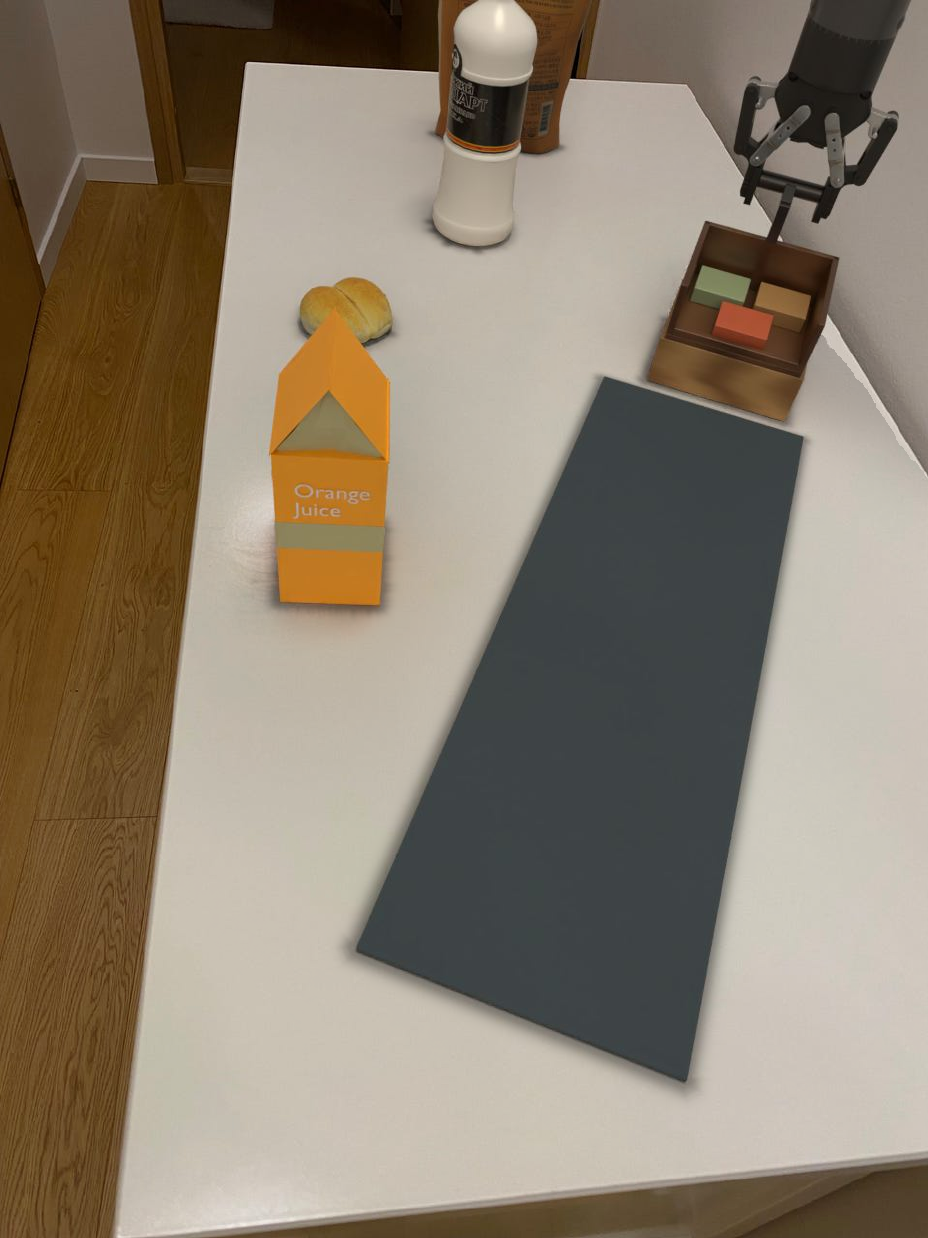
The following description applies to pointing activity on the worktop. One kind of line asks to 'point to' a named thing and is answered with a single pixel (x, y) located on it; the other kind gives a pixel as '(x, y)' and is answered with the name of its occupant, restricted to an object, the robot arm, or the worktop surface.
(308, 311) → the bread roll
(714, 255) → the wooden box with handle
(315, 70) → the worktop surface
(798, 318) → the kraft packet
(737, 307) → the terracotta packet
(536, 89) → the pancake mix bag
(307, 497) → the orange juice
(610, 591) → the mat
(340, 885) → the worktop surface
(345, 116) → the worktop surface
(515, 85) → the white bottle
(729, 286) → the block
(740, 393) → the stand
